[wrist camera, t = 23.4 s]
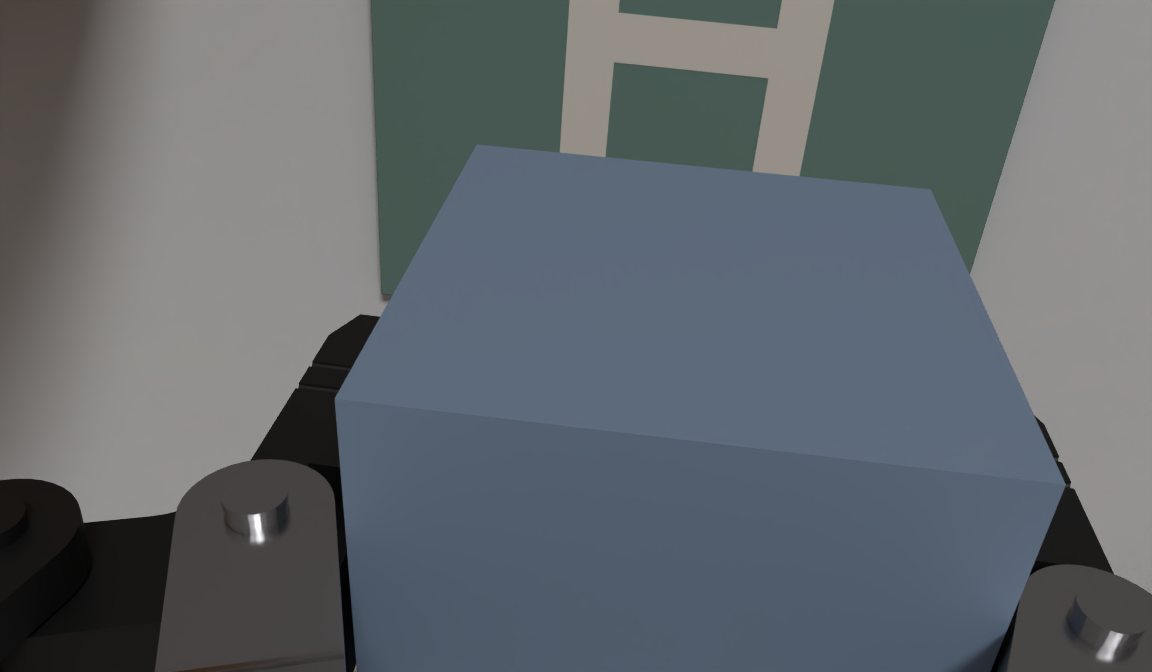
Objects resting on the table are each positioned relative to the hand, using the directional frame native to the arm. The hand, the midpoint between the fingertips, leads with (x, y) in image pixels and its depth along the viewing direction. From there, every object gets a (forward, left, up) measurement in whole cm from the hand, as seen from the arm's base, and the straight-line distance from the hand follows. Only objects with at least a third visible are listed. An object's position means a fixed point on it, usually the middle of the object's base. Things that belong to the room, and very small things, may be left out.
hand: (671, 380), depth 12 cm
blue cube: (0, 0, 0) cm, 0 cm away
